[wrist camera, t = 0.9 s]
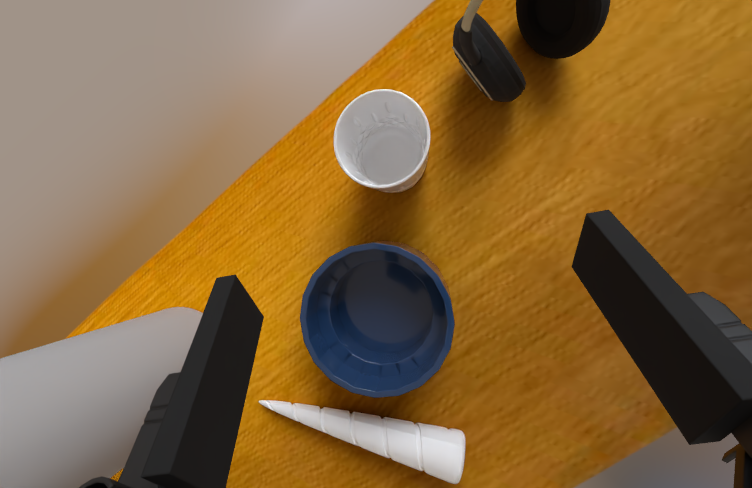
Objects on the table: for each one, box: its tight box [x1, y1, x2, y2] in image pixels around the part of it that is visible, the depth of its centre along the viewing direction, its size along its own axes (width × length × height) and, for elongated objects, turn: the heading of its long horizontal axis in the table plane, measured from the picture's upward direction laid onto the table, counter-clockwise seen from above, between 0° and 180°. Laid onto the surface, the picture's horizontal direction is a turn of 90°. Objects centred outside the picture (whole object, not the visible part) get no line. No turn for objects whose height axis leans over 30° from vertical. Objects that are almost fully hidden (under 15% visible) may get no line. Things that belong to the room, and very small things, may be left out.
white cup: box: [334, 89, 430, 193], centre depth 33 cm, size 8×8×10 cm
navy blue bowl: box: [300, 240, 455, 398], centre depth 35 cm, size 14×14×7 cm
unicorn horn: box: [258, 400, 465, 484], centre depth 38 cm, size 5×24×5 cm, turn 79°
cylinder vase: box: [0, 307, 203, 488], centre depth 31 cm, size 12×12×25 cm
